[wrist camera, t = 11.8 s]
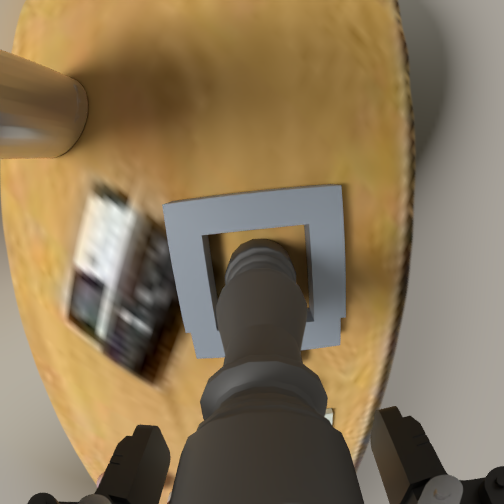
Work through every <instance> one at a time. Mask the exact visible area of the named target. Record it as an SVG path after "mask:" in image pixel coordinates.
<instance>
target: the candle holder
mask: <svg viewBox="0 0 504 504" xmlns="http://www.w3.org/2000/svg"><path fill="white" fill-rule="evenodd" d="M216 316H217V325H218V329H219V332H220V336H221V340H222V344H223V348H224V352H225V359H224V365H223V367H222V368H221V369H220V370H218V371H217V372H216V373H215V374H214V375H213V376H211V377H210V378H209V380H208V382H207V385H206V387H205V390H204V392H203V395H202V397H201V401H200V404H201V409H202V414H203V419H204V421H203V422H202V423H200V424H199V427H198V429H197V431H196V432H195V433H193V434H192V435H190V436H189V437H188V439H187V441H186V444H185V446H184V448H183V451H182V453H181V457H180V461H179V465H178V469H177V473H176V477H175V481H174V485H173V489H172V493H171V498H170V502H169V504H364V501H363V498H362V494H361V490H360V487H359V483H358V479H357V476H356V472H355V468H354V465H353V461H352V458H351V454H350V451H349V448H348V446H347V444H346V442H345V440H344V437H343V435H342V433H341V432H340V431H338V430H336V429H335V428H333V427H332V425H331V423H330V421H329V420H328V419H327V418H325V417H324V416H325V414H326V407H327V399H328V398H327V394H326V392H325V390H324V388H323V385H322V383H321V381H320V379H319V377H318V375H317V374H315V373H314V372H313V371H311V370H310V369H309V368H308V367H306V366H305V365H304V364H303V362H302V358H301V353H300V352H301V347H302V342H303V336H304V331H305V326H306V321H307V303H306V300H305V298H304V296H303V294H302V291H301V289H300V287H299V285H298V284H296V272H295V269H294V267H293V264H292V262H291V259H290V257H289V255H288V253H287V251H286V250H285V249H284V248H283V247H281V246H280V245H279V244H278V243H276V242H273V241H271V240H268V239H252V240H250V241H248V242H245V243H243V244H241V245H240V246H239V247H238V248H237V249H236V250H235V251H234V252H233V253H232V256H231V259H230V261H229V264H228V267H227V270H226V274H225V286H224V288H223V289H222V291H221V294H220V297H219V299H218V302H217V305H216Z"/></svg>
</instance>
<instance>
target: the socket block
mask: <svg viewBox="0 0 504 504" xmlns="http://www.w3.org/2000/svg"><path fill="white" fill-rule="evenodd" d="M162 206H163V213H164V219H165V226H166V232H167V238H168V244H169V250H170V256H171V262H172V267H173V272H174V278H175V283H176V288H177V293H178V298H179V303H180V308H181V313H182V317H183V322H184V326H185V331H186V333H190V332H191V335H192V339H193V344H194V348H195V353H196V357H197V359H199V358H220V357H225V352H224V348H223V344H222V340H221V336H220V332H219V329H218V325H217V316H216V305H217V302H218V299H217V293H216V286H215V280H214V273H213V267H212V260H211V253H210V247H209V240H208V235H209V234H218V233H227V232H236V231H246V230H255V229H265V228H274V227H284V226H294V225H304V227H305V241H306V255H307V271H308V289H309V308H307V321H306V326H305V331H304V336H303V342H302V347H301V350H308V349H316V348H323V347H330V346H337V345H340V328H341V318H344V317H346V269H345V238H344V218H343V202H342V189H341V185H336V184H325V185H312V186H300V187H289V188H278V189H268V190H258V191H249V192H240V193H232V194H223V195H215V196H207V197H200V198H192V199H185V200H178V201H171V202H169V203H166V204H163V205H162ZM300 353H301V352H300Z"/></svg>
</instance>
